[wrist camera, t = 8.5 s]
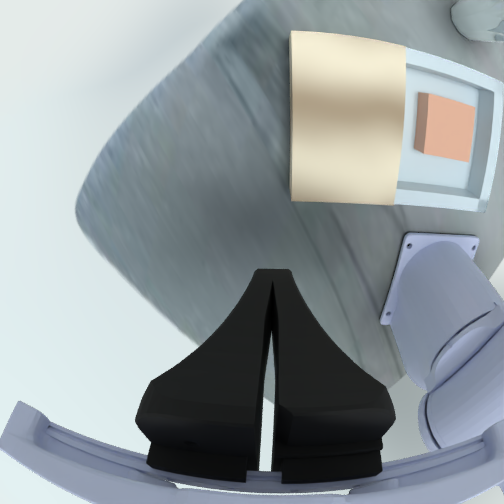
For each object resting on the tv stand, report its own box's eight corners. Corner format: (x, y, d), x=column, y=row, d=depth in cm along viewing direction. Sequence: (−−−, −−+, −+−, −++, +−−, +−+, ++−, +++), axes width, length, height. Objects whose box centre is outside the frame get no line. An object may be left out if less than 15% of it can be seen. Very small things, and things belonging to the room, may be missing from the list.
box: (470, 200, 18) (485, 212, 16) (381, 191, 18) (391, 203, 17) (486, 80, 13) (503, 83, 11) (390, 50, 13) (403, 46, 11)
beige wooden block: (381, 191, 18) (393, 205, 16) (289, 187, 19) (291, 201, 17) (390, 50, 13) (405, 46, 11) (288, 38, 14) (291, 30, 12)
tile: (423, 153, 15) (413, 148, 16) (468, 162, 15) (457, 156, 16) (428, 93, 13) (418, 92, 14) (475, 107, 13) (463, 104, 14)
